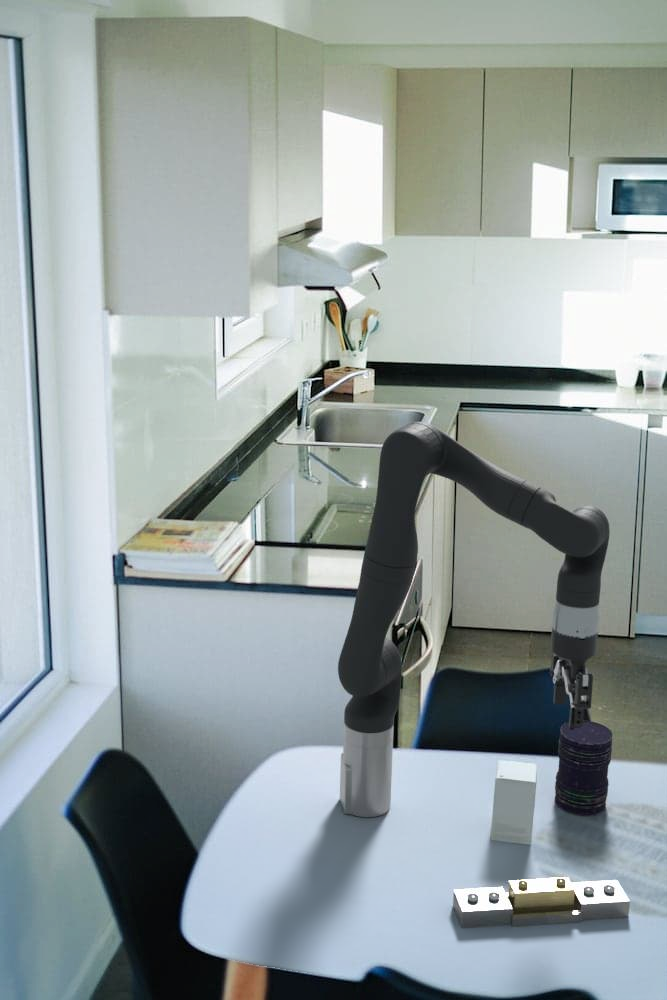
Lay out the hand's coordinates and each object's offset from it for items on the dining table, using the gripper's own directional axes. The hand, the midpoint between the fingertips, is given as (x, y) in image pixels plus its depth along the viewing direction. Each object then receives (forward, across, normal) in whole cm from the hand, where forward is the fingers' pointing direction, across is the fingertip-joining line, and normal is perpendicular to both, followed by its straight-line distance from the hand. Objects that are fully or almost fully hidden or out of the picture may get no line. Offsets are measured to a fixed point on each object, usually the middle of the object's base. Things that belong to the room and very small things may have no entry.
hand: (567, 715), depth 211 cm
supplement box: (+28, -10, -5) cm, 30 cm away
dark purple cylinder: (+28, -19, +11) cm, 36 cm away
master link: (+28, +14, -7) cm, 32 cm away
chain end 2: (+28, +14, 0) cm, 31 cm away
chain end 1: (+28, +14, -14) cm, 34 cm away
